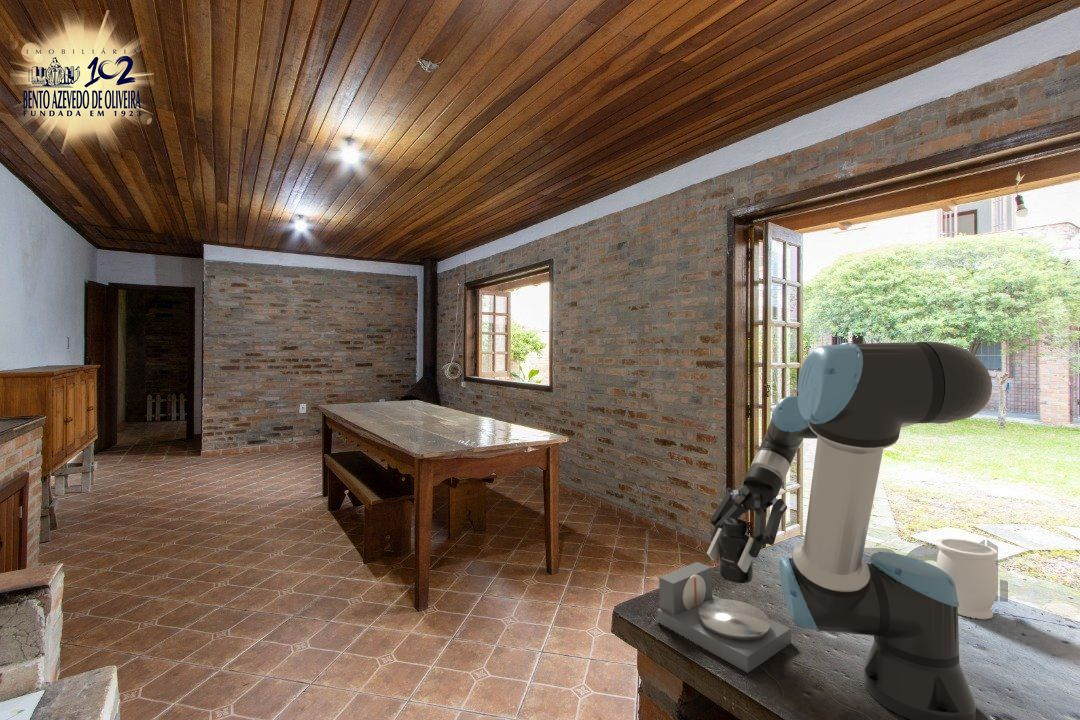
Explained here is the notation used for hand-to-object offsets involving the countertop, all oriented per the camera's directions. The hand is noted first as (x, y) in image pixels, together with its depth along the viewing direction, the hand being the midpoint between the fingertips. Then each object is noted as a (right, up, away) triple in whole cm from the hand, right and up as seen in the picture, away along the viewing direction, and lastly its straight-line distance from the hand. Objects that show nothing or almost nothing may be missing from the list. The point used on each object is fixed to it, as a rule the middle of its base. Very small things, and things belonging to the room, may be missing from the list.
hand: (726, 562), depth 100 cm
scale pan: (+2, -13, 0) cm, 13 cm away
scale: (0, -16, +3) cm, 17 cm away
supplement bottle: (+3, -4, +2) cm, 6 cm away
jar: (+60, -16, +9) cm, 63 cm away
